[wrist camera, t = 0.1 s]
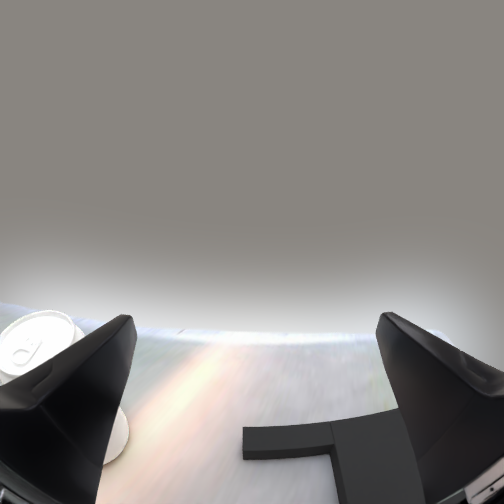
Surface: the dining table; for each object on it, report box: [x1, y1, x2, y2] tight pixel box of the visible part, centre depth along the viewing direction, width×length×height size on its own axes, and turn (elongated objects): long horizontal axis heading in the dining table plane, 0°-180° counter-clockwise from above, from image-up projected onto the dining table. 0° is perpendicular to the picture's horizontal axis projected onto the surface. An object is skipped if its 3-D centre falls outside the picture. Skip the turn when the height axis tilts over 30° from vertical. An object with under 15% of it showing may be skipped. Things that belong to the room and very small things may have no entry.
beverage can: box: [0, 310, 129, 464], centre depth 16 cm, size 8×8×12 cm
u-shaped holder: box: [243, 408, 466, 504], centre depth 14 cm, size 12×22×2 cm, turn 91°
